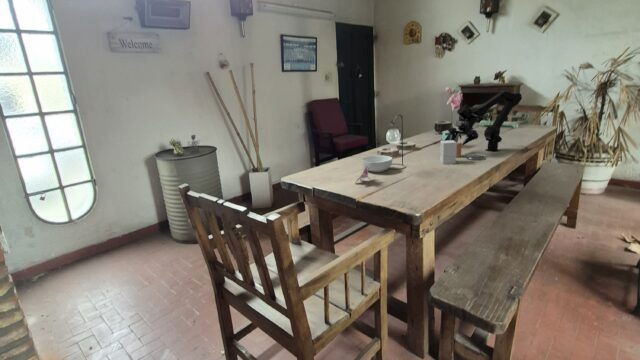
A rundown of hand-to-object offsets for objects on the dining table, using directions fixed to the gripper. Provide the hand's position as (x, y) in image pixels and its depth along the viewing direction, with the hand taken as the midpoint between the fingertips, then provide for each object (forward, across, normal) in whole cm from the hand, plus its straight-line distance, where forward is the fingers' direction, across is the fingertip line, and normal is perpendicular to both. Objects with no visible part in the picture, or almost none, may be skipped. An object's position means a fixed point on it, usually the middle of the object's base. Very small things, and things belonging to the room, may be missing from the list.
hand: (456, 143), depth 209 cm
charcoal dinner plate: (+3, +11, +9) cm, 14 cm away
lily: (+59, +4, -47) cm, 76 cm away
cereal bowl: (+46, -9, -33) cm, 57 cm away
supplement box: (+16, +6, -5) cm, 18 cm away
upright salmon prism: (+6, 0, +6) cm, 8 cm away
